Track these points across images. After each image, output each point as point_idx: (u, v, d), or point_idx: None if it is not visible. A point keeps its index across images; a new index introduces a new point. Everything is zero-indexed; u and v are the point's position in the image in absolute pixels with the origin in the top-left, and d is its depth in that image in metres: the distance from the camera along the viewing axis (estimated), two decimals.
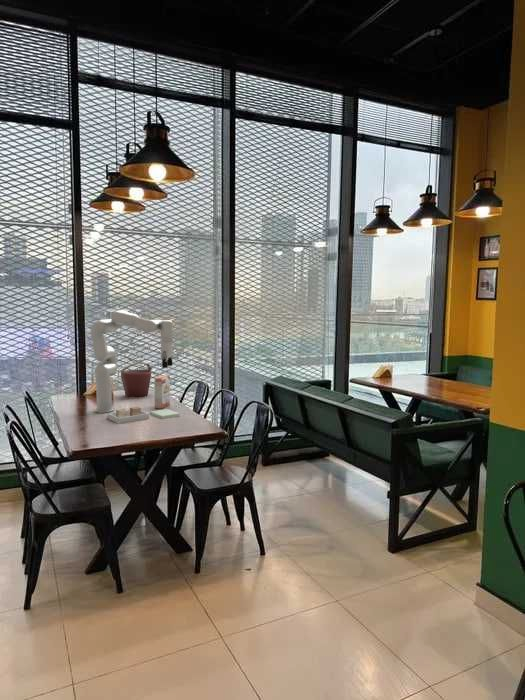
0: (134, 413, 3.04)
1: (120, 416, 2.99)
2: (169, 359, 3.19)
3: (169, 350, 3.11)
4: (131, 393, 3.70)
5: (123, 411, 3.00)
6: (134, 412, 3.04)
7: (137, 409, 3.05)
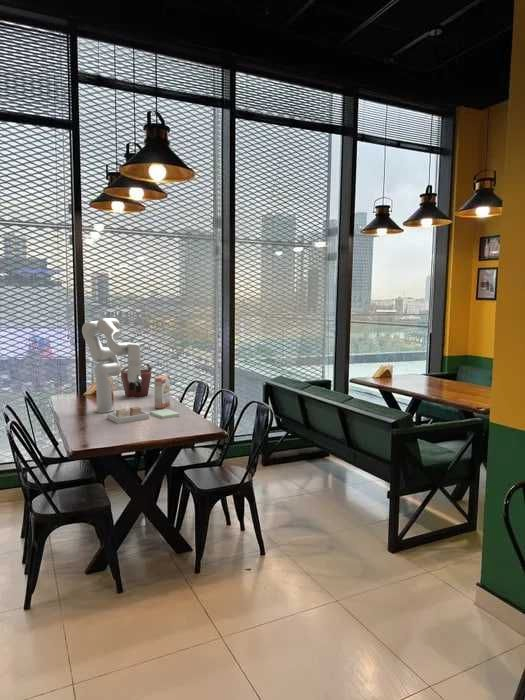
0: (134, 413, 3.04)
1: (120, 416, 2.99)
2: (131, 383, 3.09)
3: None
4: (131, 393, 3.70)
5: (123, 411, 3.00)
6: (134, 412, 3.04)
7: (137, 409, 3.05)
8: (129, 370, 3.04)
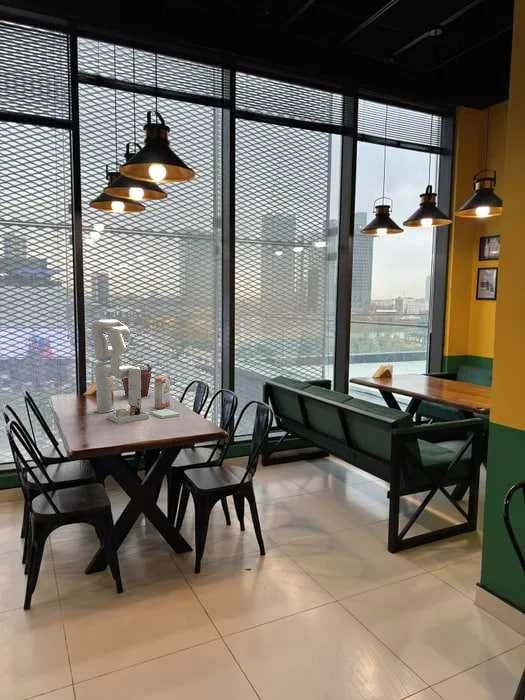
0: (134, 413, 3.04)
1: (120, 416, 2.99)
2: None
3: None
4: None
5: (123, 411, 3.00)
6: (134, 412, 3.04)
7: None
8: (129, 394, 3.05)
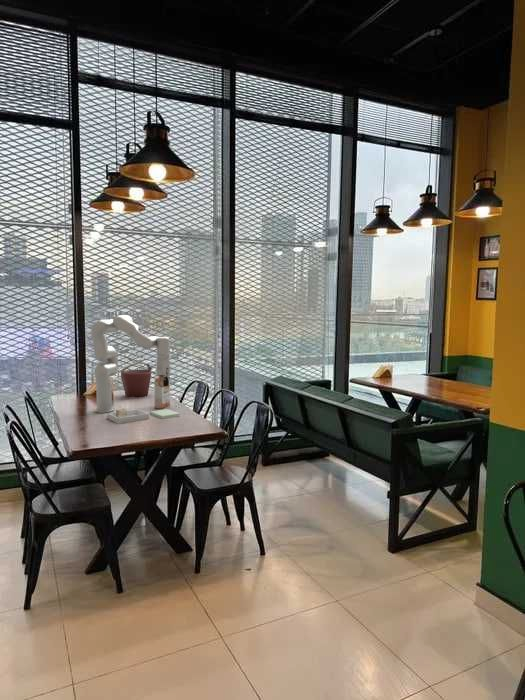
0: (163, 382, 3.09)
1: (120, 416, 2.99)
2: None
3: None
4: (131, 393, 3.70)
5: (123, 411, 3.00)
6: (162, 381, 3.09)
7: None
8: (158, 363, 3.10)
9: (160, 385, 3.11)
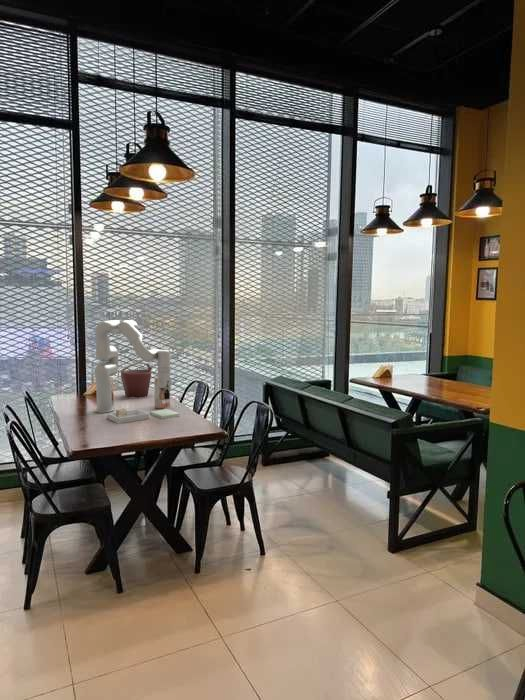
0: None
1: (120, 416, 2.99)
2: None
3: None
4: (131, 393, 3.70)
5: (123, 411, 3.00)
6: (163, 394, 3.10)
7: None
8: (159, 376, 3.11)
9: (161, 398, 3.12)
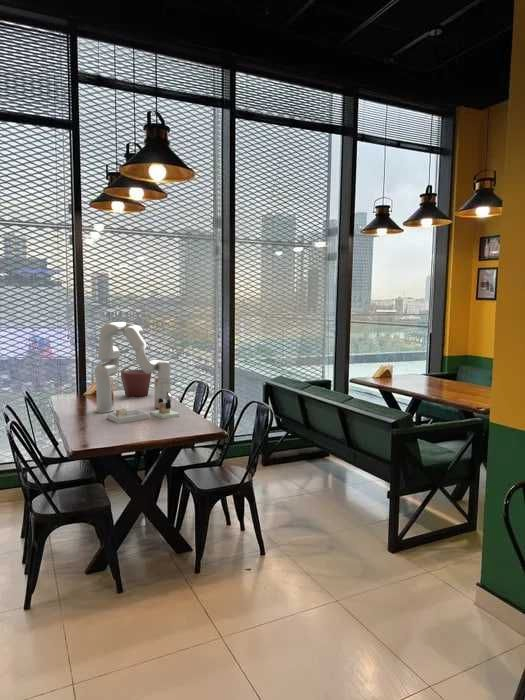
0: (163, 408, 3.11)
1: (120, 416, 2.99)
2: (160, 399, 3.17)
3: None
4: (131, 393, 3.70)
5: (123, 411, 3.00)
6: (163, 407, 3.11)
7: None
8: (159, 387, 3.12)
9: (161, 411, 3.13)
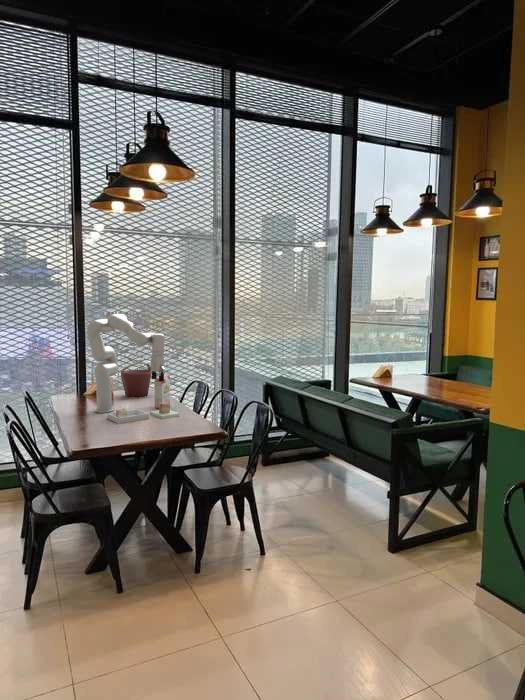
0: (163, 408, 3.11)
1: (120, 416, 2.99)
2: (154, 372, 3.16)
3: None
4: (131, 393, 3.70)
5: (123, 411, 3.00)
6: (163, 407, 3.11)
7: (166, 404, 3.12)
8: (152, 360, 3.11)
9: (161, 411, 3.13)
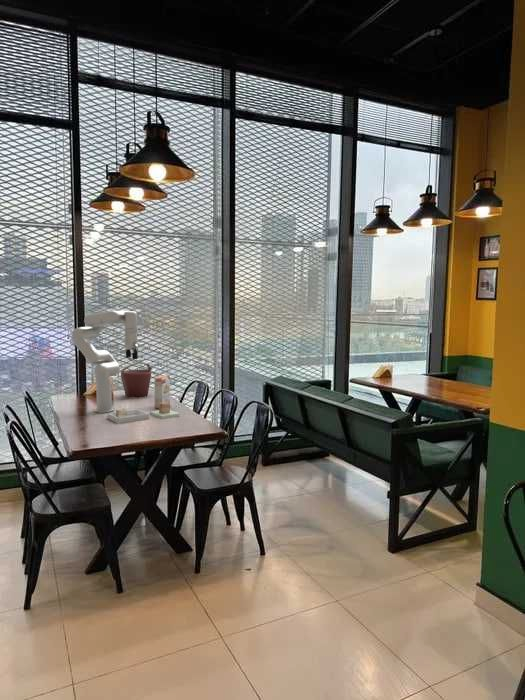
0: (163, 408, 3.11)
1: (120, 416, 2.99)
2: (128, 351, 3.16)
3: None
4: (131, 393, 3.70)
5: (123, 411, 3.00)
6: (163, 407, 3.11)
7: (166, 404, 3.12)
8: (126, 338, 3.10)
9: (161, 411, 3.13)
